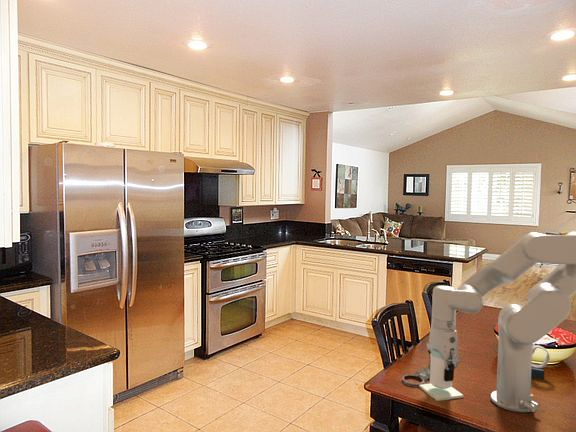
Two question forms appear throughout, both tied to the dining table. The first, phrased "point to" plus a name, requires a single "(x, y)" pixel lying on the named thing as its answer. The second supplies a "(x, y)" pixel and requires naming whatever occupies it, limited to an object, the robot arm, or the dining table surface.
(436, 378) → the can
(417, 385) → the keychain
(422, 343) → the dining table surface
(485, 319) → the dining table surface
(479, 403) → the dining table surface
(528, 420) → the dining table surface
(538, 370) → the watch
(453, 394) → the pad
